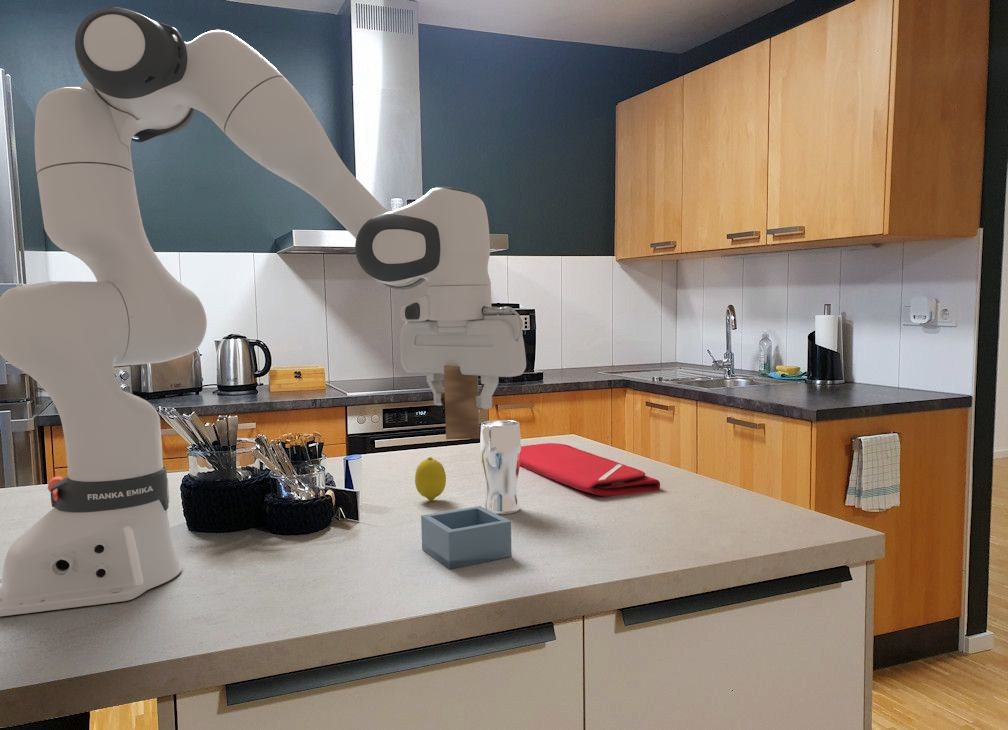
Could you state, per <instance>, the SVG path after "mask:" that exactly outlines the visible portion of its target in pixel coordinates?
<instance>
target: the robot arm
mask: <svg viewBox="0 0 1008 730" xmlns="http://www.w3.org/2000/svg"><path fill="white" fill-rule="evenodd" d="M74 50H75V51H74V53H75V56H76V59H77V63H78V66H79V68H80V70H81V72H82V74H83V76H84V78H86V80H85V82H83V83H82V84H80V85H77V86H66V87H59V88H57V89H53V90H51V91H48V92H47V93H45V94H44V95H43V96H42V97H41V98H40V100H39V102H38V103H37V105H36V111H35V119H34V159H35V160H34V161H35V171H36V177H37V185H38V192H39V200H40V208H41V215H42V222H43V228H44V232H45V233H46V235H47V236H48V237H49V239H50V241H51V242H52V243H53V244H54V245H55V246H56V247H58V248H59V249H60V250H62V251H64V252H66V253H67V254H70V255H72V256H73V257H76V258H78V259H79V260H80V261H82V262H83V263H84V264H85V265H86V266H87V267H88V268H89V269H90V270H91V272H92V274H93V275H94V277H95V280H96V281H72V280H71V281H70V280H68V281H67V280H66V281H65V280H61V281H60V280H49V281H44V282H37V283H31V284H26V285H22V286H16V287H11V288H9V289H7V290H5V291H4V292H3V293H2V294H1V295H0V356H1V357H2V358H3V359H4V360H5V361H6V362H7V363H9V364H10V365H11V366H13V367H14V368H16V369H18V370H20V371H22V372H23V373H25V374H27V376H29V377H31V378H32V379H33V380H34V381H36V382H37V383H38V384H39V386H40V387H42V389H43V390H44V391H45V392H46V393H47V395H48V396H49V398H50V399H51V401H52V403H53V404H54V407H55V408H56V410H57V413H58V415H59V418H60V421H61V426H62V433H63V437H64V438H63V439H64V446H65V453H66V464H67V476H65V477H62V476H60V475H59V476H58V475H57V476H53V477H52V478H50V480H49V481H48V485H47V489H48V491H49V493H50V503H51V507H52V509H50V510H49V511H48V512H47V513H46V514H45V515H43V516H42V517H41V518H39V520H37V521H36V522H35V523H33V524H32V525H31V526H30V527H28V529H27V530H25V531H24V532H23V533H21V534H20V535H19V536H18V537H17V538H16V539H15V540H14V541H13V542H12V543H11V545H10V546H9V548H8V550H7V552H6V554H5V557H4V563H3V565H2V566H3V567H2V572H1V577H0V617H6V616H14V615H22V614H32V613H39V612H46V611H47V612H48V611H55V610H56V611H57V610H63V609H71V608H79V607H81V608H82V607H87V606H97V605H104V604H105V605H106V604H111V603H113V604H114V603H119V602H127V601H130V600H134V599H136V598H137V597H139V596H140V595H142V594H143V593H145V592H146V591H148V590H151V589H153V588H155V587H157V586H160V585H163V584H165V583H167V582H169V581H170V580H172V579H174V578H176V577H177V576H178V575H179V574H180V573H181V571H182V570H183V565H182V563H181V561H180V558H179V555H178V553H177V549H176V546H175V543H174V538H173V534H172V529H171V525H170V520H169V515H168V509H169V503H170V487H169V484H170V483H169V475H168V472H167V469H166V467H165V466H164V464H163V448H162V447H163V445H162V430H161V429H162V428H161V417H160V414H159V412H158V411H157V410H156V408H155V406H154V405H152V404H151V403H150V402H149V401H147V400H146V399H144V398H142V397H139V396H138V395H135V394H132V393H130V392H127V391H124V389H122V387H121V386H120V384H119V383H118V380H117V377H116V375H115V367H121V366H122V367H123V366H124V367H126V366H136V365H146V364H147V365H148V364H159V363H160V364H161V363H164V362H169V361H172V360H176V359H179V358H182V357H185V356H188V355H191V354H193V353H195V352H196V351H197V350H198V348H200V346H201V344H202V343H203V341H204V340H205V339H204V338H205V336H206V332H207V321H208V319H207V315H206V314H207V313H206V311H205V307H204V305H203V303H202V301H201V300H200V298H199V297H198V296H197V294H196V293H194V291H193V290H191V289H189V288H188V287H186V286H185V285H184V284H183V283H181V282H180V281H178V280H177V279H176V277H174V276H173V275H172V274H171V273H170V272H169V271H168V270H167V269H166V267H165V266H164V265H163V263H162V262H161V260H160V259H159V258H158V256H157V254H156V253H155V251H154V249H153V248H152V246H151V244H150V241H149V239H148V237H147V234H146V230H145V228H144V225H143V220H142V216H141V211H140V209H141V208H140V205H139V200H138V194H137V187H136V181H135V175H134V173H135V172H134V167H133V162H132V161H133V160H132V153H131V150H132V149H131V147H132V146H131V144H132V141H133V142H136V143H144V142H147V141H150V140H152V139H155V138H157V137H162V136H168V135H171V134H174V133H177V132H179V131H181V130H182V129H185V127H186V126H187V125H188V124H190V122H191V120H192V119H193V117H194V115H195V112H196V111H199V112H201V113H202V114H204V115H205V116H206V117H208V118H210V120H211V121H213V124H214V123H215V125H217V127H218V129H220V130H221V132H223V133H224V135H225V136H227V138H228V139H229V140H230V141H231V142H233V143H234V145H235V146H237V147H238V148H239V149H240V150H241V151H242V152H243V153H245V154H246V155H247V156H248V157H249V158H251V159H252V160H253V161H255V162H256V163H258V164H259V165H260V166H262V167H263V168H265V169H266V170H268V171H269V172H271V173H273V174H275V175H276V176H278V177H280V178H281V179H284V180H286V181H287V182H289V183H290V184H293V185H294V186H295V187H297V188H299V189H301V190H303V191H304V192H305V193H307V194H309V195H310V196H311V197H313V198H314V199H315V200H316V201H318V202H319V203H320V204H321V205H322V206H323V207H324V208H325V209H326V210H327V211H328V212H329V213H330V214H331V215H332V216H333V217H334V219H336V220H337V221H338V223H339V224H341V225H342V227H344V228H345V230H346V231H347V232H349V234H350V235H351V236H352V237H353V238H354V239H355V245H354V248H355V249H354V251H355V255H356V260H357V262H358V264H359V265H360V267H361V269H362V271H364V272H365V273H366V274H367V275H368V276H369V277H371V278H372V279H374V281H375V280H376V281H377V282H380V283H381V284H383V285H384V286H386V287H388V288H390V289H394V290H399V291H401V290H412V289H413V288H415V287H418V286H419V285H421V284H422V283H424V282H425V281H426V295H423V296H420V297H419V298H418V299H415V300H413V301H411V302H409V303H407V304H404V305H403V306H402V307H401V308H400V319H401V320H402V321H403V322H405V323H404V324H403V325H402V326H401V330H400V336H399V337H400V338H399V339H400V340H399V341H400V343H399V344H400V345H399V346H400V347H399V348H400V352H399V353H400V364H401V367H402V368H403V369H404V371H405V372H406V373H417V374H419V373H420V374H426V382H427V384H428V386H429V388H430V390H431V393H432V394H433V405H435V406H444V407H445V387H444V385H443V383H442V381H444V366H460V371H461V373H462V374H463V375H476V376H478V377H480V383H481V384H482V385H483V388H482V390H481V393H480V395H478V396H476V402H477V403H476V408H477V409H479V410H490V409H492V406H493V396H494V394H495V391H496V389H497V388H498V385H499V383H500V382H499V378H500V377H501V378H511V377H517V376H518V377H519V376H522V375H523V374H524V372H525V370H526V368H527V358H526V357H527V356H526V348H525V341H524V336H523V324H522V323H523V320H522V316H521V315H520V314H519V312H517V311H516V310H515V309H513V307H511V306H502V307H501V306H500V307H499V306H492V282H491V279H490V275H489V270H488V269H489V260H490V257H491V247H490V246H491V243H490V241H491V240H490V238H491V237H490V225H489V219H488V211H487V208H486V206H485V203H484V201H483V200H482V199H481V197H479V196H478V195H477V194H475V192H471V191H469V190H467V189H463V188H457V187H451V186H449V187H448V186H435V187H433V188H431V189H429V190H428V191H427V192H426V193H425V194H424V195H422V196H421V197H420V198H418V199H416V200H415V201H413V202H411V203H409V204H407V205H404V206H402V207H399V208H397V209H394V210H391V211H389V210H387V209H386V208H385V207H384V206H383V205H382V204H381V203H380V202H379V201H378V200H377V199H376V198H375V197H374V196H373V194H371V192H369V190H367V188H366V187H365V186H364V185H363V184H362V183H361V182H360V181H359V180H358V179H357V178H356V176H355V175H353V173H352V172H351V171H350V169H348V167H347V166H346V164H345V163H344V162H343V160H342V159H341V157H340V156H339V154H338V151H336V149H335V147H334V146H333V143H331V142H332V141H331V140H330V139H329V137H328V135H327V133H326V131H325V130H324V128H323V126H322V125H321V122H320V121H319V119H318V117H316V114H315V113H314V112H313V110H312V109H311V107H310V106H309V104H308V103H307V101H306V100H305V99H304V97H303V96H302V95H301V93H299V91H298V90H297V89H296V87H295V86H294V85H293V84H292V83H291V82H290V81H289V80H288V79H287V78H286V77H285V76H284V75H283V74H282V73H281V72H280V71H279V70H278V69H277V68H276V67H275V66H274V65H273V64H272V63H270V61H268V59H266V57H264V56H263V55H262V54H260V52H259V51H257V50H256V49H254V48H253V47H252V46H250V45H249V44H248V43H247V42H245V41H244V40H242V39H241V38H239V37H238V36H237V35H235V34H233V33H232V32H230V31H227V30H221V29H215V30H214V29H213V30H209V31H207V32H204V33H202V34H200V35H198V36H197V37H195V38H194V39H193V40H191V41H187V42H186V41H185V40H184V38H183V36H182V35H181V32H180V31H179V30H178V29H177V28H175V27H173V26H171V25H168V24H164V23H162V22H158V21H155V20H153V19H151V18H149V17H148V16H145V15H143V14H141V13H138V12H136V11H134V10H130V9H127V8H123V7H115V6H114V7H113V6H112V7H104V8H100V9H96V10H94V11H93V12H91V13H90V14H88V15H87V16H86V17H84V19H83V20H82V21H81V22H80V23H79V26H78V28H77V30H76V33H75V38H74ZM134 136H135V137H134ZM136 137H138V138H136Z"/></svg>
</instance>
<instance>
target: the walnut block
mask: <svg viewBox="0 0 1008 730" xmlns="http://www.w3.org/2000/svg"><path fill="white" fill-rule="evenodd" d="M443 376H444V379H443V381H444V382H443V383H444V390H445V405H444V407H445V408H444V412H445V413H444V414H445V415H444V416H445V418H444V419H445V440H470V439H472V440H473V439H474V440H475V439H476V440H477V439H478V440H479V439H480V409H477V408H476V403H477V402H476V396H479V376H476V375H463V374H462V373H461V371H460V366H444V374H443Z"/></svg>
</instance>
